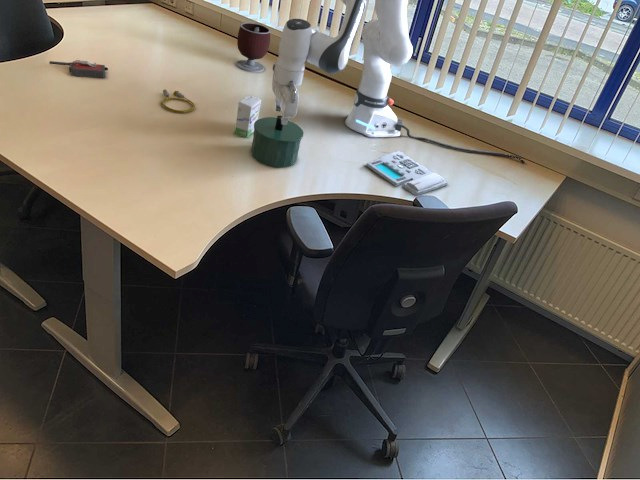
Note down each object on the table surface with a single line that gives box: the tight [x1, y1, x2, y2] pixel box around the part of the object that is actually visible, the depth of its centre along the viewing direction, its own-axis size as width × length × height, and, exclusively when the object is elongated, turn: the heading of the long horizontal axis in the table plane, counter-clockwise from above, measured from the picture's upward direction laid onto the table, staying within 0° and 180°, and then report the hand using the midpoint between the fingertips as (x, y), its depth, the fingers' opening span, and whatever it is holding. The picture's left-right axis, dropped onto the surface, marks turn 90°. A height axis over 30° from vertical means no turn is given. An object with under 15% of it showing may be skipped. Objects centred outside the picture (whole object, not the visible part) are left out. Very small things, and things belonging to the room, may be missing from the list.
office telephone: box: [366, 150, 449, 196], centre depth 192 cm, size 23×3×20 cm
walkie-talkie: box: [48, 59, 109, 79], centre depth 201 cm, size 9×4×20 cm
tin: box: [250, 129, 302, 169], centre depth 180 cm, size 15×15×10 cm
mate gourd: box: [235, 22, 271, 73], centre depth 237 cm, size 16×14×20 cm
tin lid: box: [254, 115, 305, 143], centre depth 176 cm, size 16×16×5 cm
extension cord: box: [160, 89, 196, 114], centre depth 198 cm, size 12×16×2 cm
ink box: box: [234, 94, 262, 139], centre depth 189 cm, size 8×5×12 cm, turn 162°
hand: (280, 117), depth 175 cm, fingers open, 8 cm apart
